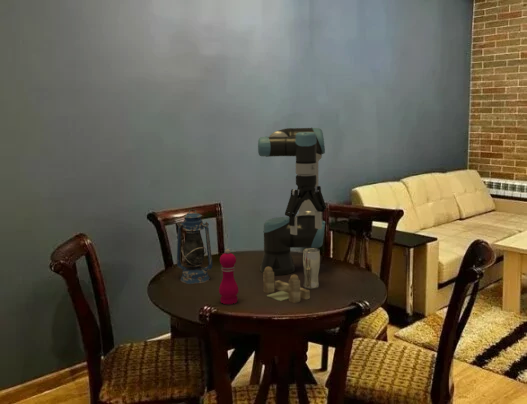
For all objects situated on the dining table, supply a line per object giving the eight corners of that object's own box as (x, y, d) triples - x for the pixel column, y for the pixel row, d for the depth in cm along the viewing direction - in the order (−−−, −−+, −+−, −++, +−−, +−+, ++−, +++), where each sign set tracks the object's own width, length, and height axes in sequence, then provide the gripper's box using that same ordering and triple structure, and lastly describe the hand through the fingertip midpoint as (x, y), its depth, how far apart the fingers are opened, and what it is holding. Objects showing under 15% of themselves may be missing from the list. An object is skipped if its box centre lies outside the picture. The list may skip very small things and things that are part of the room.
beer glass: (321, 284, 222) (321, 248, 220) (317, 289, 216) (317, 252, 213) (305, 283, 224) (304, 247, 222) (300, 288, 218) (300, 251, 215)
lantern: (172, 283, 227) (169, 211, 223) (182, 274, 239) (179, 206, 234) (208, 284, 224) (205, 212, 219) (216, 276, 236) (214, 207, 231)
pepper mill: (219, 298, 207) (217, 247, 204) (238, 298, 208) (237, 246, 204) (219, 305, 200) (217, 251, 197) (239, 304, 200) (237, 251, 197)
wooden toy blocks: (258, 293, 213) (257, 267, 211) (278, 287, 219) (278, 262, 218) (289, 304, 199) (289, 277, 198) (310, 298, 206) (310, 272, 204)
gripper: (289, 178, 190) (290, 238, 194) (335, 172, 207) (335, 227, 210) (274, 177, 195) (275, 235, 199) (320, 170, 212) (320, 224, 216)
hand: (306, 231), depth 205 cm, fingers open, 13 cm apart
